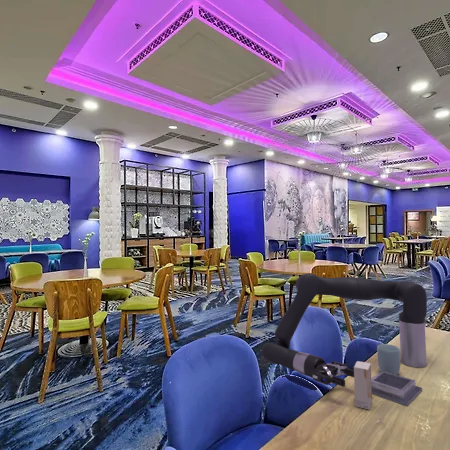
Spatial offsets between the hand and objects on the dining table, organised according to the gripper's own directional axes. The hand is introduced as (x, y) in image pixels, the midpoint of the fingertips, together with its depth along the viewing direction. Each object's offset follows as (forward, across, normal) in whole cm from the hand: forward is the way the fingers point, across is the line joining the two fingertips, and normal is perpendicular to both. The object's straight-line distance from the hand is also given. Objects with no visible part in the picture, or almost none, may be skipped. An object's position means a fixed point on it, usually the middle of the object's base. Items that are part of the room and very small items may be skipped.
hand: (351, 378), depth 105 cm
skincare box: (+4, 0, +7) cm, 8 cm away
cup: (+1, +28, +7) cm, 29 cm away
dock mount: (+7, +15, +7) cm, 18 cm away
